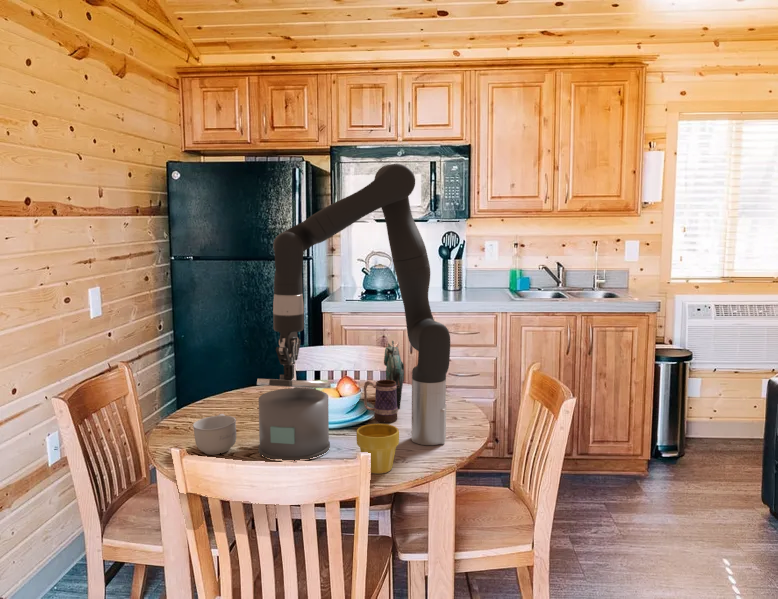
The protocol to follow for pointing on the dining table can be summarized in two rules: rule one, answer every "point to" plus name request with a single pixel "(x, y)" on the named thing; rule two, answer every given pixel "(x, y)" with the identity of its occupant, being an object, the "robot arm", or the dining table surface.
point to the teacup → (215, 434)
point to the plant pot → (379, 445)
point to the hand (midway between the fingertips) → (289, 379)
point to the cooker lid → (293, 383)
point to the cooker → (293, 423)
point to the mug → (383, 400)
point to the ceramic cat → (394, 369)
